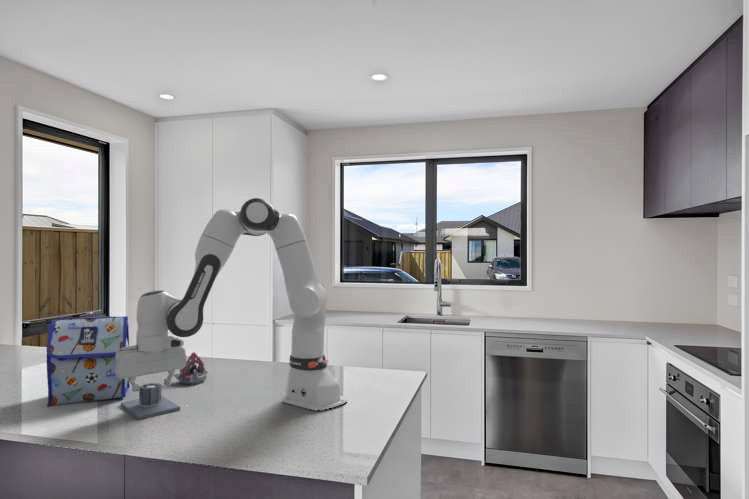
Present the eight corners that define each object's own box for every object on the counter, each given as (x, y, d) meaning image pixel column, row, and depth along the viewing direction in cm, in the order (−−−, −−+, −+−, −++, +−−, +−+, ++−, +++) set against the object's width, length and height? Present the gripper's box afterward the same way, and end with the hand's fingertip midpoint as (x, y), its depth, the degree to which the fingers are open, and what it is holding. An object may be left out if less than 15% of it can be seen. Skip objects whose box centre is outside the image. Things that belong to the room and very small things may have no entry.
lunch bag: (41, 410, 138) (43, 321, 138) (53, 394, 153) (55, 314, 153) (126, 401, 147) (128, 318, 148) (129, 387, 162) (132, 312, 163)
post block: (179, 410, 141) (180, 388, 141) (138, 419, 132) (138, 397, 132) (160, 397, 152) (160, 378, 152) (120, 405, 143) (121, 384, 143)
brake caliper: (196, 381, 164) (181, 352, 166) (176, 396, 167) (162, 368, 169) (217, 373, 174) (203, 346, 177) (198, 388, 177) (184, 361, 180)
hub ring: (163, 402, 142) (163, 386, 142) (143, 406, 138) (144, 389, 138) (156, 397, 146) (156, 382, 146) (137, 401, 142) (137, 385, 142)
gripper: (119, 349, 132) (118, 397, 132) (188, 340, 147) (188, 383, 147) (112, 346, 137) (111, 392, 137) (180, 337, 151) (180, 379, 151)
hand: (152, 387), depth 142 cm, fingers open, 8 cm apart
